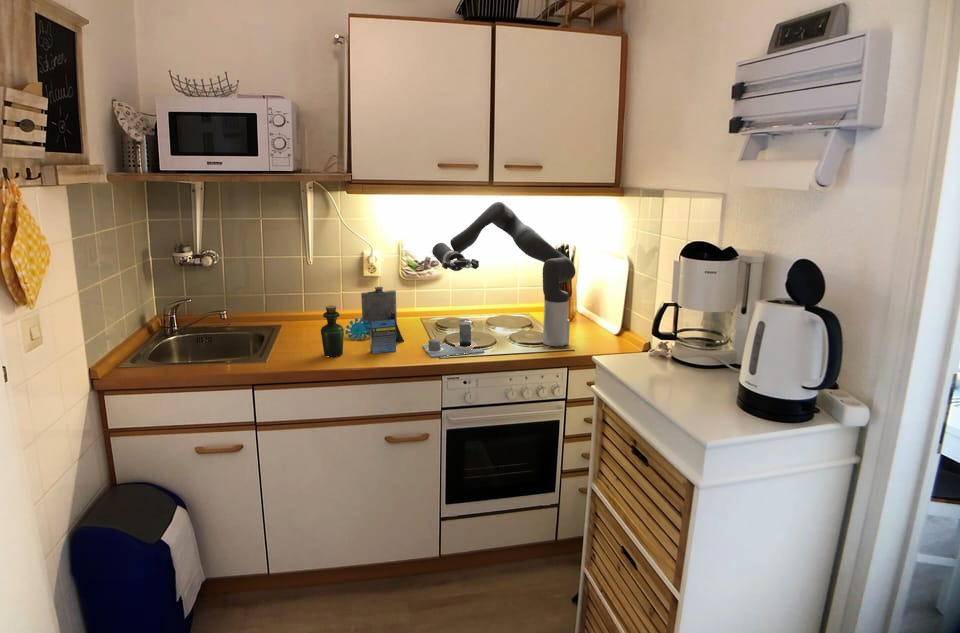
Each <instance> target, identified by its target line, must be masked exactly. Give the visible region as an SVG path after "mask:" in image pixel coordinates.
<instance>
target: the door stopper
mask: <svg viewBox="0 0 960 633" xmlns="http://www.w3.org/2000/svg"><path fill="white" fill-rule="evenodd" d="M389 311H390V312H391V313H390V312H389ZM389 311H388V310H386V311H385V312H384V314H385V318H384V320H395V317H396V316H395V314H394V313H393V312H392V311H391V310H389ZM390 314H391V315H390ZM389 315H390V316H389ZM382 325H387V323H383V324H382ZM395 334H396V344H397V343H398V344H399V343H404V342H405V341H404V338H403V335H402V334H401V331H400V328H399V326H398V323H396V320H395Z"/></svg>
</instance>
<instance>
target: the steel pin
mask: <svg viewBox="0 0 960 633" xmlns="http://www.w3.org/2000/svg"><path fill="white" fill-rule="evenodd" d="M458 324H459V328H458V329H459V341H458V342H460V346H462V347H467V346H470V345H471V341H472V320H471V319H467V318H465V319H463V318H462V319H460V320H459V321H458Z"/></svg>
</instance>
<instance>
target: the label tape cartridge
mask: <svg viewBox="0 0 960 633" xmlns="http://www.w3.org/2000/svg"><path fill="white" fill-rule="evenodd" d="M382 323H387V325H379V324H382ZM369 343H370V344H369V345H370V352H371V353H372V354H373V353H374V354H380V353H382V352H383V353H391V352H392V353H393V352H397V343H396V334H395V320H382V321H371V329H370V336H369Z"/></svg>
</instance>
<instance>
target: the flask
mask: <svg viewBox="0 0 960 633" xmlns="http://www.w3.org/2000/svg"><path fill="white" fill-rule="evenodd" d="M383 289H384V287H383V286H375V287H374V291H373V290H371V291H367V292H361V294H360V296H361V297H360V298H361V316H362V317H361V318H363V319H364V321H362V322H361V323H363V322H365V320H367V321H368V324H370V328H368V327H366V329H368V330H370V329H371V321H382V320H384V318H385V314H384V312H385V311H386V310H388V311H389V310H391V311H392V312H393V313H394V314H395V316H396V317H395V320H396V323H397V322H398V320H397V319H398V318H397V317H398V316H397V313H398V312H397V290H393V289H392V290H383ZM389 312H390V311H389ZM390 313H391V312H390ZM390 315H391V314H390ZM390 315H389V316H390ZM368 324H364V325H368ZM382 324H383V323H382ZM382 324H379V325H382ZM397 324H398V323H397Z"/></svg>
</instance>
